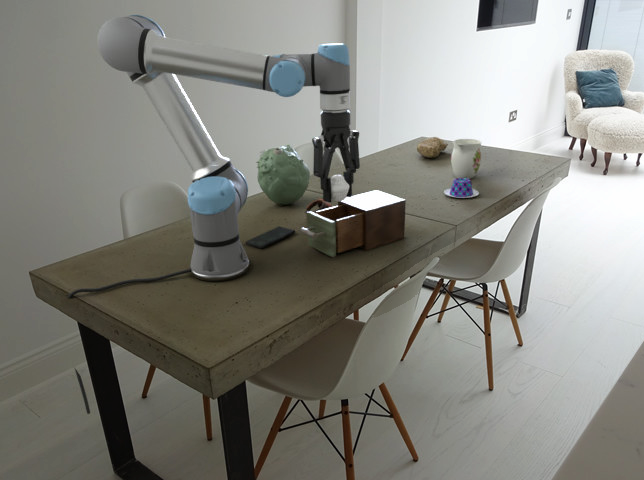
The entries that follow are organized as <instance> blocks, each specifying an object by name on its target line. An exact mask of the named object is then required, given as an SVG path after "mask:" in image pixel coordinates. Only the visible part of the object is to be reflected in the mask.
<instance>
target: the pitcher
mask: <svg viewBox="0 0 644 480" xmlns="http://www.w3.org/2000/svg"><path fill="white" fill-rule="evenodd" d="M452 144H453V149H452V151H451V156H450V164H451V169H452V173H453V175H454V176H455V177H456V179H457V178H467V179H469V180H471V179H473V178H474V177H475V176H476V174H477V173H478V171H479V169H480V167H481V166H480V165H481V161H482V152H481V145H482V141H481V140H480V139H479V140H478V139H474V138H460V139H459V138H458V139H454V140H453V141H452Z"/></svg>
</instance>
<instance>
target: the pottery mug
mask: <svg viewBox="0 0 644 480" xmlns="http://www.w3.org/2000/svg"><path fill="white" fill-rule="evenodd" d="M316 206H317V209H316V210H314V211H312V212H313V213H316V211H320V210H323V209H327V208H331V207H334V206H333V204H332V203H331V202H330V203H328V202H326V201H323V198H318V199H315V200H313V201H311V202H310V203H309V204H308V205H307V207H306V210H305V211H304V213H305V215H306V216H305V218H306V219H305V220H306V221H307V212H310V211H311V210H312V209H313V208H315V207H316Z"/></svg>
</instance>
